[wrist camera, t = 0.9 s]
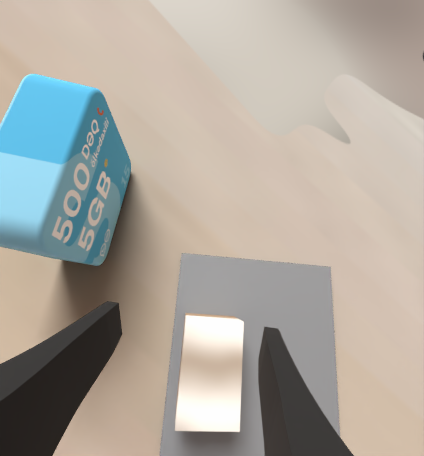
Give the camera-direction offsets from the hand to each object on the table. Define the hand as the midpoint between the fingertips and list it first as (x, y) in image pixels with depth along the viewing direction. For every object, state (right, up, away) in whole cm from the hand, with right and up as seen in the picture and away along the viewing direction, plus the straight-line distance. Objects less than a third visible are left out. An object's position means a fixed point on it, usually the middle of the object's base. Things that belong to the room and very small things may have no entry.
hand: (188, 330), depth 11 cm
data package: (-11, +7, +14) cm, 20 cm away
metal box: (+1, -8, +11) cm, 14 cm away
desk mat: (+6, -7, +13) cm, 16 cm away
